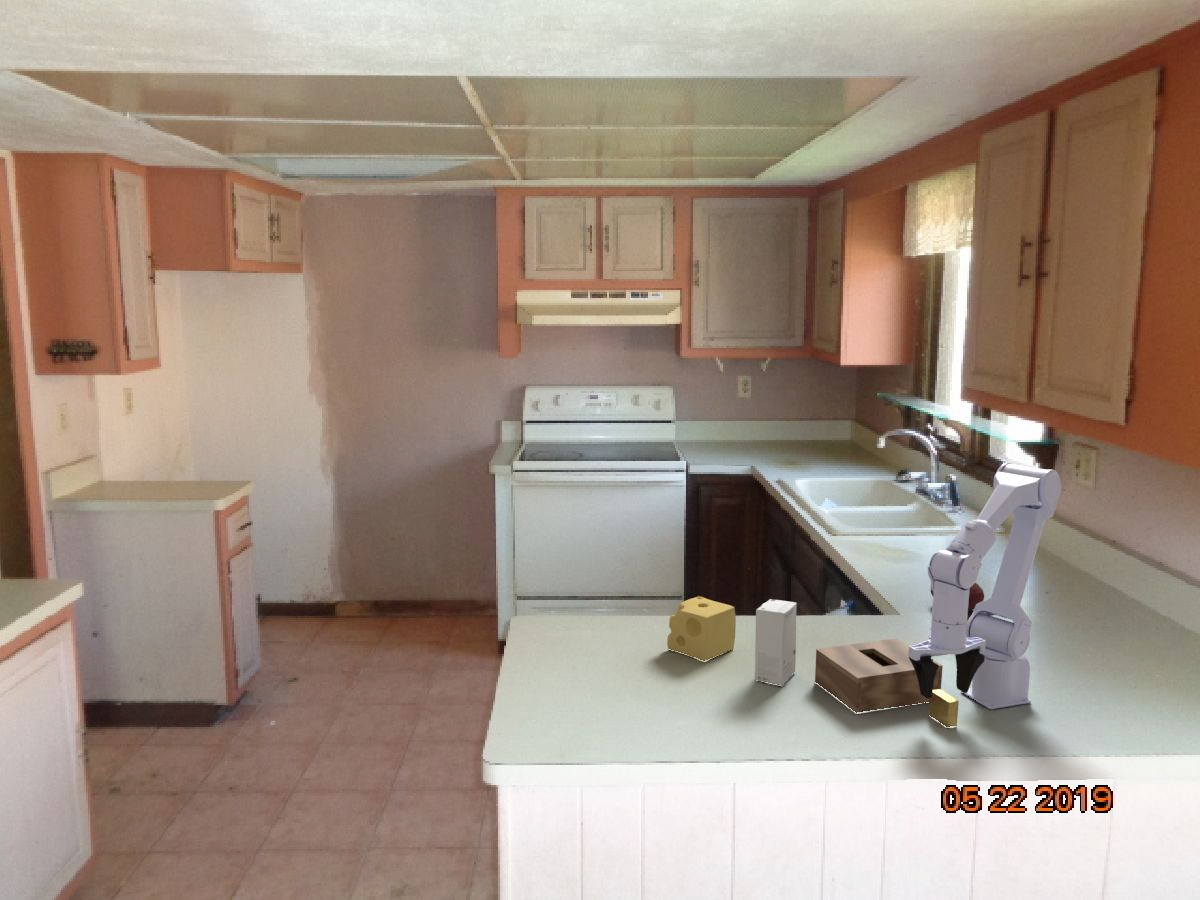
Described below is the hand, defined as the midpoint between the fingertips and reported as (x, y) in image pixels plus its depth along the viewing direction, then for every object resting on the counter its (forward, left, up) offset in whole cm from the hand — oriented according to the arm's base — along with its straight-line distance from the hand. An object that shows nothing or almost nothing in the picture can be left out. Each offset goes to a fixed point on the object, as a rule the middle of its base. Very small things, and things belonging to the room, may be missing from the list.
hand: (944, 693), depth 159 cm
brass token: (0, 0, -6) cm, 6 cm away
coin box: (+4, -14, -5) cm, 16 cm away
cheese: (+27, -43, -6) cm, 51 cm away
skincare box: (+19, -26, -6) cm, 33 cm away
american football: (-41, -47, -6) cm, 63 cm away
